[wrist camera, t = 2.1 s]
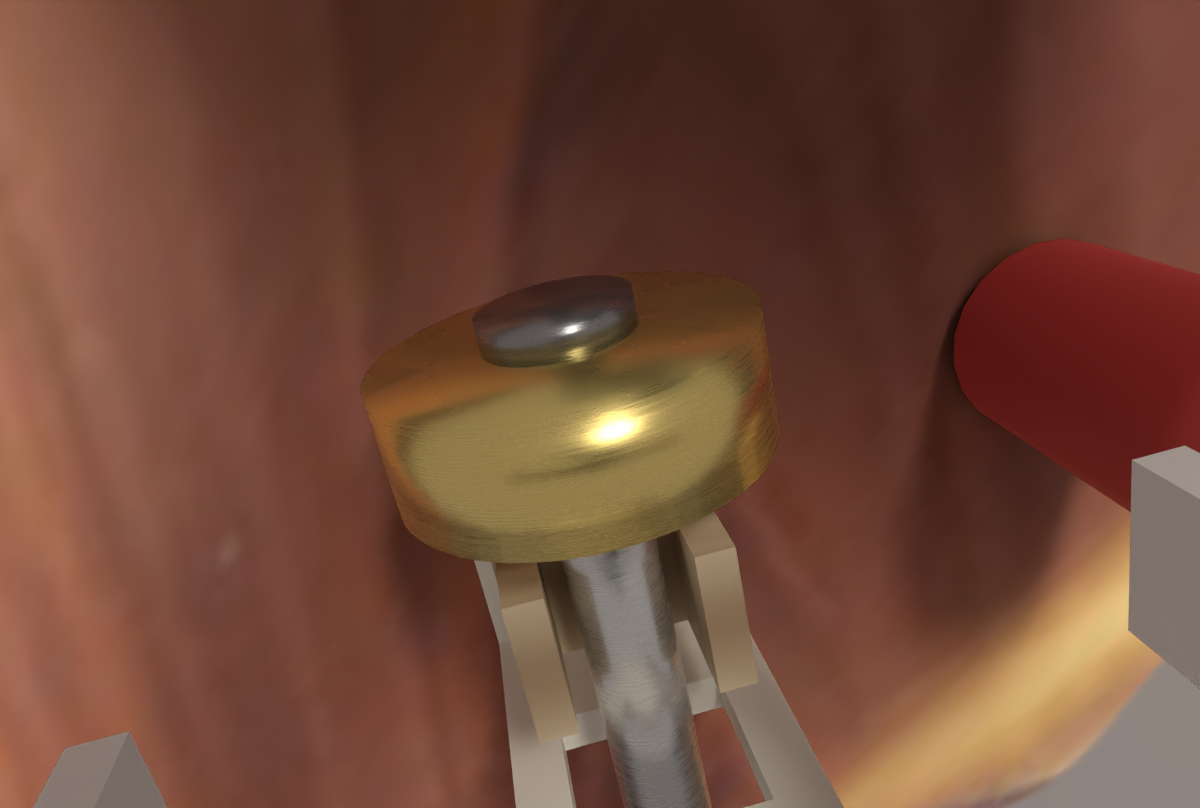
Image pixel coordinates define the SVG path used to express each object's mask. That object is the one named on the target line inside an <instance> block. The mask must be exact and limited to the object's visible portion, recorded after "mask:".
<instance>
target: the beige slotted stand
mask: <svg viewBox="0 0 1200 808" xmlns="http://www.w3.org/2000/svg"><path fill="white" fill-rule="evenodd" d="M474 561H475V565H476V568H477V572H478V575H479V578H480V582H481V585H482V588H483V592H484V595H485V598H486V602H487V605H488V608H489V612H490V615H491V618H492V622H493V625H494V629H495V632H496V635H497V639H498V642H499V648H500V658H501V667H502V677H503V687H504V696H505V706H506V716H507V726H508V735H509V745H510V755H511V764H512V774H513V784H514V793H515V803H516V808H576V803H575V797H574V792H573V786H572V781H571V775H570V770H569V764H568V759H567V753H566V751H567V750H570V749H574V748H577V747H581V746H585V745H588V744H592V743H595V742H599V741H602V740H606V739H607V737H606V733H605V729H604V725H603V721H602V718H601V714H600V710H599V706H598V702H597V698H596V694H595V690H594V686H593V682H592V678H591V674H590V671H589V667H588V663H587V659H586V655H585V651H584V649H580V650H576V651H573V652H569V653H565V654H563V655H564V660H565V665H566V670H567V674H568V679H569V684H570V689H571V694H572V699H573V703H574V708H575V713H576V718H577V723H578V727H579V732H580V733H576V734H573V735H569V736H566V737H562V738H559V739H555V740H551V741H548V742H544V743H541V744H540V742H539V739H538V735H537V732H536V728H535V725H534V722H533V718H532V715H531V711H530V708H529V704H528V701H527V698H526V694H525V691H524V687H523V684H522V681H521V677H520V674H519V670H518V667H517V663H516V660H515V657H514V653H513V650H512V646H511V643H510V639H509V636H508V633H507V629H506V626H505V622H504V619H503V615H502V612H501V607H500V598H499V589H498V584H497V581H496V577H495V574H494V570H493V567H492V563H491V562H485V561H477V560H474ZM674 627H675V632H676V636H677V641H678V646H679V651H680V656H681V661H682V665H683V670H684V675H685V680H686V685H687V690H688V695H689V699H690V704H691V709H692V714H693V715H695V714H698V713H702V712H705V711H709V710H712V709H716V708H719V707H723V706H724V707H725V710H726V712H727V714H728V716H729V719H730V721H731V723H732V726H733V728H734V730H735V732H736V735H737V737H738V739H739V742H740V744H741V746H742V748H743V751H744V753H745V755H746V758H747V760H748V762H749V764H750V767H751V769H752V771H753V774H754V776H755V778H756V780H757V783H758V785H759V787H760V790H761V792H762V794H763V796H764V799H765V802H762V803H758V804H755V805H752V806H748V807H745V808H844V807H843V805H842V803H841V802H840V800H839V798H838V796H837V794H836V792H835V790H834V789H833V787H832V785H831V783H830V781H829V779H828V777H827V775H826V774H825V772H824V770H823V768H822V766H821V764H820V762H819V761H818V759H817V757H816V755H815V753H814V751H813V749H812V748H811V746H810V744H809V742H808V740H807V738H806V736H805V735H804V733H803V731H802V729H801V727H800V725H799V723H798V721H797V720H796V718H795V716H794V714H793V712H792V710H791V708H790V707H789V705H788V703H787V701H786V699H785V697H784V695H783V694H782V692H781V690H780V688H779V686H778V684H777V682H776V681H775V679H774V677H773V675H772V673H771V671H770V669H769V667H768V666H767V664H766V662H765V660H764V658H763V656H762V654H761V653H760V651H759V649H758V647H757V645H756V643H755V641H754V640H753V638H752V636H751V641H752V647H753V653H754V659H755V665H756V671H757V677H758V683H755V684H751V685H748V686H744V687H740V688H737V689H733V690H730V691H726V692H723V693H720V692H719V690H718V687H717V685H716V683H715V681H714V678H713V676H712V674H711V672H710V669H709V667H708V665H707V662H706V660H705V658H704V656H703V653H702V651H701V649H700V647H699V644H698V642H697V640H696V637H695V635H694V633H693V631H692V628H691V626H690V624H689V622H688V620H686V621H682V622H679V623H675V624H674ZM750 635H751V634H750Z"/></svg>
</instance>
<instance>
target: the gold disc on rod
mask: <svg viewBox="0 0 1200 808" xmlns="http://www.w3.org/2000/svg"><path fill="white" fill-rule="evenodd" d="M361 396H362V399H363V402H364V405H365V408H366V411H367V414H368V417H369V420H370V423H371V426H372V429H373V432H374V435H375V439H376V442H377V445H378V448H379V451H380V454H381V457H382V460H383V463H384V466H385V469H386V472H387V475H388V478H389V481H390V484H391V487H392V491H393V494H394V497H395V500H396V503H397V506H398V509H399V512H400V515H401V517H402V520H403V523H404V525H405V526H406V527H407V529H408V530H409V531H410V532H411V534H412V535H413V536H415V537H416V538H417V539H419V540H420V541H421V542H422V543H424V544H426V545H428V546H430V547H432V548H434V549H436V550H438V551H441V552H444V553H447V554H450V555H453V556H456V557H461V558H466V559H471V560H477V561H485V562H497V563H538V562H550V561H562V565H563V569H564V573H565V577H566V580H567V584H568V588H569V592H570V596H571V600H572V604H573V608H574V612H575V616H576V620H577V624H578V627H579V631H580V635H581V639H582V643H583V647H584V651H585V655H586V659H587V663H588V667H589V671H590V674H591V678H592V682H593V686H594V690H595V694H596V698H597V702H598V706H599V710H600V714H601V718H602V721H603V725H604V729H605V733H606V737H607V741H608V745H609V749H610V753H611V757H612V761H613V765H614V768H615V772H616V776H617V780H618V784H619V788H620V792H621V796H622V800H623V804H624V808H712V806H711V801H710V796H709V791H708V787H707V782H706V777H705V772H704V767H703V762H702V757H701V753H700V748H699V743H698V738H697V733H696V728H695V724H694V719H693V714H692V709H691V704H690V699H689V695H688V690H687V685H686V680H685V675H684V670H683V665H682V661H681V656H680V651H679V646H678V641H677V636H676V632H675V627H674V622H673V617H672V612H671V607H670V603H669V598H668V593H667V588H666V583H665V578H664V573H663V569H662V564H661V559H660V554H659V549H658V544H657V540H656V538H658V537H661V536H663V535H666V534H668V533H671V532H674V531H676V530H679V529H681V528H683V527H685V526H687V525H689V524H691V523H693V522H696V521H698V520H700V519H702V518H704V517H706V516H707V515H709V514H711V513H713V512H714V511H716V510H718V509H719V508H721V507H723V506H724V505H726V504H727V503H729V502H730V501H732V500H733V499H734V498H736V497H737V496H738V495H740V494H741V493H743V492H744V491H745V490H746V489H747V488H748V487H749V486H750V485H752V484H753V483H754V482H755V481H756V480H757V479H758V478H759V477H760V476H761V474H762V473H763V472H764V471H765V469H766V468H767V467H768V466H769V464H770V462H771V461H772V459H773V457H774V455H775V453H776V451H777V447H778V443H779V439H780V438H779V423H778V416H777V409H776V402H775V394H774V387H773V380H772V373H771V366H770V359H769V351H768V344H767V337H766V330H765V323H764V315H763V308H762V302H761V300H760V298H759V296H758V294H757V293H756V292H755V291H754V290H753V289H752V288H750V287H748V286H747V285H745V284H743V283H741V282H738V281H736V280H733V279H730V278H726V277H722V276H718V275H712V274H705V273H697V272H682V271H657V272H638V273H625V274H616V275H608V276H602V275H596V276H580V277H572V278H566V279H560V280H554V281H550V282H545V283H541V284H537V285H533V286H530V287H527V288H523V289H520V290H517V291H515V292H512V293H509V294H507V295H504V296H502V297H500V298H498V299H495V300H493V301H492V302H489V303H486V304H483V305H480V306H477V307H475V308H472V309H469V310H467V311H464V312H461V313H459V314H456V315H454V316H451V317H449V318H447V319H444V320H442V321H440V322H438V323H436V324H434V325H431V326H429V327H427V328H425V329H423V330H421V331H419V332H418V333H416V334H414V335H412V336H410V337H409V338H407V339H405V340H404V341H402V342H401V343H399V344H398V345H396V346H394V347H393V348H392V349H390V350H389V351H388V352H386V353H385V354H384V355H383V356H381V357H380V358H379V359H378V360H377V361H376V362H375V363H374V364H373V365H372V366H371V367H370V369H369V370H368V372H367V373H366V374H365V376H364V378H363V381H362V383H361Z"/></svg>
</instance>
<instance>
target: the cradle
mask: <svg viewBox="0 0 1200 808" xmlns="http://www.w3.org/2000/svg"><path fill="white" fill-rule="evenodd" d="M656 540H657V544H658V549H659V554H660V559H661V564H662V569H663V573H664V578H665V583H666V588H667V593H668V598H669V603H670V607H671V612H672V617H673V622H674V624H675V623H679V622H682V621H686V620H688V622H689V624H690V626H691V628H692V631H693V633H694V635H695V637H696V640H697V642H698V644H699V647H700V649H701V651H702V653H703V656H704V658H705V660H706V662H707V665H708V667H709V669H710V672H711V674H712V676H713V678H714V681H715V683H716V685H717V687H718V690H719V692H720V693H723V692H726V691H730V690H733V689H737V688H740V687H744V686H748V685H751V684H755V683H758V677H757V671H756V665H755V659H754V653H753V647H752V641H751V635H750V629H749V624H748V618H747V612H746V606H745V600H744V594H743V588H742V582H741V576H740V570H739V564H738V558H737V552H736V547H735V545H734V543H733V542H732V540H731V538H730V537H729V535H728V533H727V532H726V530H725V528H724V527H723V525H722V523H721V522H720V520H719V518H718V517H717V515H716V513H715V512H713V513H711V514H709V515H707V516H706V517H704V518H702V519H700V520H698V521H696V522H693V523H691V524H689V525H687V526H685V527H683V528H681V529H679V530H676V531H674V532H671V533H668V534H666V535H663V536H661V537H658V538H656ZM491 563H492V567H493V570H494V574H495V577H496V581H497V584H498V589H499V598H500V607H501V612H502V615H503V619H504V622H505V626H506V629H507V633H508V636H509V639H510V643H511V646H512V650H513V653H514V657H515V660H516V663H517V667H518V670H519V674H520V677H521V681H522V684H523V687H524V691H525V694H526V698H527V701H528V704H529V708H530V711H531V715H532V718H533V722H534V725H535V728H536V732H537V735H538V739H539V742H540V744H541V743H544V742H548V741H551V740H555V739H559V738H562V737H566V736H569V735H573V734H576V733H580V732H579V727H578V723H577V718H576V713H575V708H574V703H573V699H572V694H571V689H570V684H569V679H568V674H567V670H566V665H565V660H564V655H563V654H565V653H569V652H573V651H576V650H580V649H584V647H583V643H582V639H581V635H580V631H579V627H578V624H577V620H576V616H575V612H574V608H573V604H572V600H571V596H570V592H569V588H568V584H567V580H566V577H565V573H564V569H563V565H562V561H550V562H538V563H497V562H491Z"/></svg>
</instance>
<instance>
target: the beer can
mask: <svg viewBox="0 0 1200 808" xmlns="http://www.w3.org/2000/svg"><path fill="white" fill-rule="evenodd" d="M954 366H955V370H956V373H957V376H958V379H959V382H960V385H961V388H962V391H963V393H964V394H965V395H966V396H967V398H968V399H969V400H970V401H971V403H972V404H973V405H974V406H975V408H976V409H977V410H978V411H979V412H981V413H982V414H984V415H985V416H987V417H988V418H990V419H991V420H993V421H994V422H996V423H997V424H999V425H1000V426H1002V427H1003V428H1005V429H1006V430H1008V431H1009V432H1011V433H1012V434H1014V435H1015V436H1017V437H1018V438H1020V439H1021V440H1023V441H1024V442H1026V443H1027V444H1029V445H1030V446H1032V447H1033V448H1035V449H1036V450H1038V451H1039V452H1041V453H1042V454H1044V455H1045V456H1047V457H1048V458H1050V459H1051V460H1053V461H1054V462H1056V463H1057V464H1059V465H1060V466H1062V467H1063V468H1065V469H1066V470H1068V471H1069V472H1071V473H1072V474H1074V475H1075V476H1077V477H1078V478H1080V479H1081V480H1083V481H1085V482H1086V483H1088V484H1089V485H1091V486H1092V487H1094V488H1095V489H1097V490H1098V491H1100V492H1101V493H1103V494H1104V495H1106V496H1107V497H1109V498H1110V499H1112V500H1113V501H1115V502H1116V503H1118V504H1119V505H1121V506H1122V507H1124V508H1125V509H1127V510H1128V511H1130V512H1131V477H1132V460H1133V459H1137V458H1141V457H1144V456H1148V455H1152V454H1156V453H1159V452H1163V451H1167V450H1170V449H1174V448H1178V447H1181V446H1187V447H1189V448H1191V449H1193V450H1195V451H1197V452H1198V453H1200V275H1199V274H1196V273H1192V272H1189V271H1185V270H1182V269H1179V268H1175V267H1172V266H1168V265H1165V264H1161V263H1158V262H1155V261H1151V260H1148V259H1144V258H1141V257H1137V256H1134V255H1131V254H1127V253H1124V252H1120V251H1117V250H1113V249H1110V248H1107V247H1103V246H1100V245H1096V244H1093V243H1087V242H1082V241H1077V240H1071V239H1060V240H1054V241H1047V242H1041V243H1036V244H1033V245H1031V246H1029V247H1027V248H1025V249H1023V250H1021V251H1019V252H1017V253H1015V254H1013V255H1011V256H1009V257H1007V258H1005V259H1004V260H1003V261H1002V262H1001V263H1000V264H999V265H997V266H996V267H995V268H994V269H993V270H992V271H991V272H990V273H989V274H987V275H986V276H985V277H984V278H983V279H982V280H981V281H980V283H979V284H978V286H977V287H976V289H975V290H974V292H973V293H972V295H971V296H970V298H969V299H968V301H967V303H966V304H965V306H964V308H963V311H962V314H961V317H960V320H959V323H958V326H957V329H956V332H955V335H954Z"/></svg>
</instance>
